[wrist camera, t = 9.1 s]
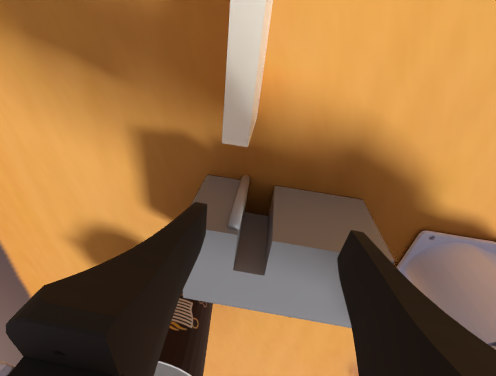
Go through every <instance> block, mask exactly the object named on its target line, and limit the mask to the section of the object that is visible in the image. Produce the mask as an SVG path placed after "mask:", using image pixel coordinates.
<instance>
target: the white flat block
mask: <svg viewBox="0 0 496 376" xmlns="http://www.w3.org/2000/svg"><path fill="white" fill-rule="evenodd" d="M272 4H273V0H230V14H229V31H228V48H227V64H226V81H225V98H224V115H223V131H222V143H224V144H230V145H237V146H243V147H248V145H249V142H250V139H251V136H252V133H253V129H254V126H255V123H256V120H257V114H258V107H259V100H260V92H261V85H262V77H263V70H264V63H265V55H266V48H267V41H268V33H269V26H270V18H271V11H272Z"/></svg>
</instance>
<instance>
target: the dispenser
mask: <svg viewBox="0 0 496 376" xmlns="http://www.w3.org/2000/svg"><path fill="white" fill-rule="evenodd" d="M249 183H250V177H249V176H248V175H243V176H242V177H241V180H237V179H231V178H225V177H219V176H212V175H207V176H206V178H205V180H204V182H203V183H202V185H201V187H200V189H199V191H198V193H197V194H196V196H195V198H194V200H193V202H192V204H193V203H195V202H199V203H204V204H207V221H206V235H205V239H204V242H203V245H202V248H201V251H200V254H199V256H198V258H197V260H196V262H195V265H194V267H193V269H192V271H191V273H190V275H189V278H188V280H187V282H186V284H185V286H184V289H183V298H187V299H193V300H198V301H204V302H209V303H215V304H221V305H226V306H232V307H237V308H243V309H248V310H254V311H260V312H265V313H271V314H276V315H282V316H287V317H293V318H298V319H304V320H310V321H315V322H321V323H326V324H332V325H337V326H343V327H348V328H352V327H351V322H350V318H349V315H348V311H347V307H346V303H345V299H344V295H343V291H342V287H341V283H340V279H339V272H338V262H337V258H338V256H339V253H340V251H341V249H342V247H343V245H344V243H345V241H346V239H347V237H348V235H349V233H350V231H351V230H354V231H360V232H364V233H365V234H366V235H367V236H368V237H369V238H370V240H371V241H372V242H373V243H374V244H375V245H376V246H377V247H378V248H379V249H380V250H381V252H382V253H383V254H384V255H385V256H386V257H387V258H388V259H389V260H390V261H391V262H392V263H393V264H394V262H395V261H394V259H393V257H392V255H391V253H390V251H389V249H388V247H387V245H386V243H385V241H384V240H383V238H382V236H381V234H380V232H379V230H378V228H377V226H376V224H375V222H374V220H373V218H372V216H371V214H370V212H369V211H368V209H367V207H366V205H365V203H364V201H363V200H362V199H356V198H350V197H343V196H337V195H331V194H325V193H318V192H312V191H306V190H300V189H293V188H287V187H281V186H275V187H274V191H273V196H272V201H271V206H270V211H269V215H268V216H266V215H260V214H254V213H248V212H245V209H246V202H247V195H248V187H249ZM192 204H191V205H192ZM191 205H190V206H191Z"/></svg>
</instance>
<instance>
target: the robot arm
mask: <svg viewBox="0 0 496 376" xmlns="http://www.w3.org/2000/svg"><path fill="white" fill-rule="evenodd" d="M206 221H207V204H204V203H199V202H195V203H193V204H192V205H191V206H190V207H189V208H187V209H186V210H185V211H184V212H183V213H182V214H180V215H179V216H178V217H177V218H176V219H174V220H173V221H172V222H170V223H169V224H168V225H167V226H165V227H164V228H163V229H161V230H160V231H158V232H157V233H156V234H154V235H153V236H151V237H150V238H148V239H147V240H145V241H144V242H142V243H140V244H139V245H137V246H135V247H134V248H132V249H130V250H128V251H126V252H124V253H122V254H120V255H118V256H116V257H115V258H113V259H111V260H108V261H106V262H104V263H102V264H100V265H97V266H95V267H93V268H90V269H88V270H85V271H83V272H80V273H78V274H75V275H72V276H70V277H67V278H64V279H61V280H58V281H56V282H53V283H50V284H47V285H44V286H43V287H42V288H41V289H40V290H39V291H38V292H37V293H36V294H35V295H33V297H32V298H31V299H30V300H29V301H28V302H27V303H26V304H25V305H24V306H23V307H22V308H21V309H20V310H19V311H18V312H17V313H16V314H15V315H14V316H13V317H12V318H11V319H10V320H9V321H8V323H7V324H6V333H7V335H8V337H9V338H10V340H11V341H12V342H13V344H14V345H15V346H16V347H17V348H18V350H19V351H20V352H21V353H22V355H23V356H24V357H23V358H22V359H21V360H20V362H19V363H18V364H17V365H16V367H14V366H12V365H10V364H8V363H5V362H2V361H0V376H154V374H155V370H156V367H157V364H158V361H159V358H160V354H161V351H162V348H163V345H164V342H165V339H166V336H167V333H168V330H169V327H170V324H171V321H172V318H173V315H174V312H175V309H176V306H177V304H178V301H179V298H180V296H181V293H182V291H183V289H184V286H185V284H186V282H187V280H188V278H189V275H190V273H191V271H192V269H193V267H194V265H195V262H196V260H197V258H198V256H199V254H200V251H201V248H202V245H203V242H204V239H205V235H206ZM431 236H432V237H431ZM337 262H338V272H339V279H340V283H341V287H342V291H343V295H344V299H345V303H346V307H347V311H348V315H349V318H350V322H351V327H352V332H353V337H354V344H355V350H356V357H357V365H358V373H359V376H496V242H494V241H488V240H482V239H476V238H470V237H463V236H457V235H451V234H445V233H439V232H433V231H422V232H420V233H419V234H418V236H417V237H416V239H415V240H414V242H413V243H412V245H411V246H410V248H409V249H408V251H407V252H406V254H405V255H404V257H403V258H402V260H401V261H400V263H399V264H398V266H397V267H395V266H394V264H393V263H392V262H391V261H390V260H389V259H388V258H387V257H386V256H385V255H384V254H383V253H382V252H381V250H380V249H379V248H378V247H377V246H376V245H375V244H374V243H373V242H372V241H371V240H370V238H369V237H368V236H367V235H366V234H365V233H364V232H360V231H354V230H351V231H350V233H349V235H348V237H347V239H346V241H345V243H344V245H343V247H342V249H341V251H340V253H339V256H338V258H337Z"/></svg>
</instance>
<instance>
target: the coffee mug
mask: <svg viewBox="0 0 496 376" xmlns="http://www.w3.org/2000/svg"><path fill="white" fill-rule="evenodd" d="M212 305H213V303H209V302H204V301H198V300H193V299H187V298H183V291H182V293H181V296H180V298H179V301H178V304H177V306H176V309H175V312H174V315H173V318H172V321H171V324H170V327H169V330H168V333H167V336H166V339H165V342H164V345H163V348H162V351H161V354H160V358H159V361H158V364H157V367H156V370H155V374H154V376H203V372H204V364H205V357H206V350H207V342H208V335H209V327H210V320H211V313H212Z"/></svg>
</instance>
